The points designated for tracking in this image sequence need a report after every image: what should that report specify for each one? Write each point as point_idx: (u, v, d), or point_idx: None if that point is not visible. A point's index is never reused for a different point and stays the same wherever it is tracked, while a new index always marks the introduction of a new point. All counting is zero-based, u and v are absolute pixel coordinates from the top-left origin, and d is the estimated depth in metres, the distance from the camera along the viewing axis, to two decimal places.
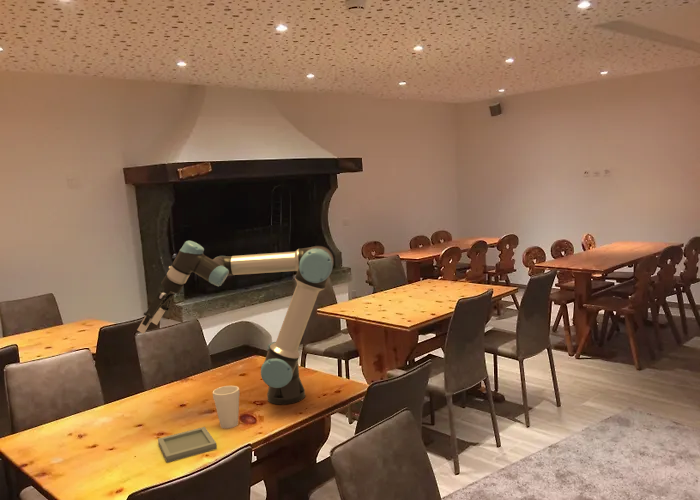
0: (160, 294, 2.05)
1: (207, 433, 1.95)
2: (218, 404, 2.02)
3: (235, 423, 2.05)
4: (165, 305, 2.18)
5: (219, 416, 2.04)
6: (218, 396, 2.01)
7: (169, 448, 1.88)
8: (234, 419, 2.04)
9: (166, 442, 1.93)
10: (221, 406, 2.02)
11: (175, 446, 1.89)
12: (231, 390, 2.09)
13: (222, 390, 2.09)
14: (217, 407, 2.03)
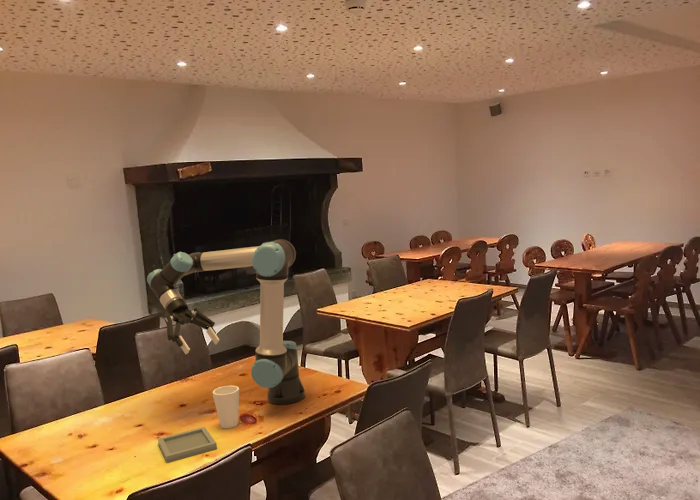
0: (165, 319, 2.10)
1: (207, 433, 1.95)
2: (218, 404, 2.02)
3: (235, 423, 2.05)
4: (203, 324, 2.17)
5: (219, 416, 2.04)
6: (218, 396, 2.01)
7: (169, 448, 1.88)
8: (234, 419, 2.04)
9: (166, 442, 1.93)
10: (221, 406, 2.02)
11: (175, 446, 1.89)
12: (231, 390, 2.09)
13: (222, 390, 2.09)
14: (217, 407, 2.03)
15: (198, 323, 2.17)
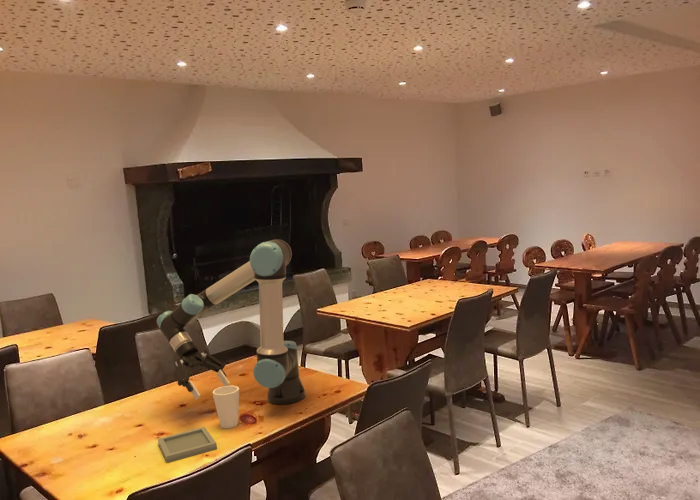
0: (175, 363, 2.09)
1: (207, 433, 1.95)
2: (218, 404, 2.02)
3: (235, 423, 2.05)
4: (213, 367, 2.16)
5: (219, 416, 2.04)
6: (218, 396, 2.01)
7: (169, 448, 1.88)
8: (234, 419, 2.04)
9: (166, 442, 1.93)
10: (221, 406, 2.02)
11: (175, 446, 1.89)
12: (231, 390, 2.09)
13: (222, 390, 2.09)
14: (217, 407, 2.03)
15: (208, 366, 2.16)
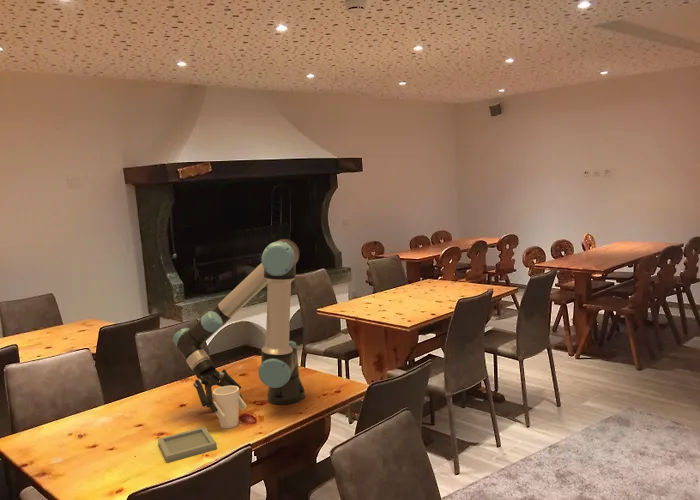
0: (194, 384, 2.05)
1: (207, 433, 1.95)
2: (218, 404, 2.02)
3: (235, 423, 2.05)
4: None
5: None
6: (218, 396, 2.01)
7: (169, 448, 1.88)
8: (234, 419, 2.04)
9: (166, 442, 1.93)
10: (221, 406, 2.02)
11: (175, 446, 1.89)
12: (231, 390, 2.09)
13: (222, 390, 2.09)
14: None
15: None
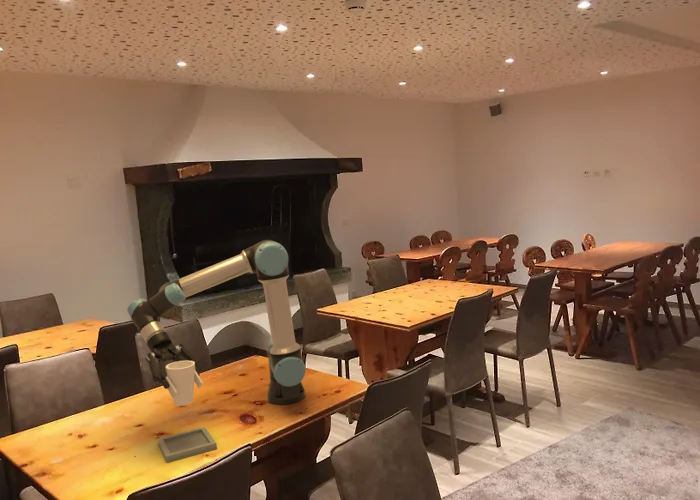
0: (146, 358, 1.90)
1: (207, 433, 1.95)
2: (170, 379, 1.87)
3: (189, 401, 1.89)
4: None
5: None
6: (171, 370, 1.86)
7: (169, 448, 1.88)
8: (189, 396, 1.89)
9: (166, 442, 1.93)
10: (174, 382, 1.86)
11: (175, 446, 1.89)
12: (187, 365, 1.94)
13: (178, 365, 1.93)
14: None
15: None
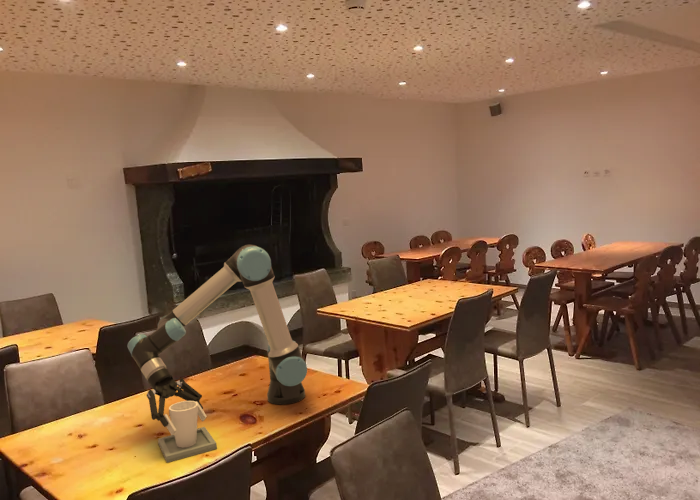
0: (147, 395, 1.89)
1: (207, 433, 1.95)
2: (174, 421, 1.86)
3: (192, 442, 1.89)
4: (189, 397, 1.95)
5: (175, 434, 1.88)
6: (174, 412, 1.85)
7: (169, 448, 1.88)
8: (192, 438, 1.89)
9: (166, 442, 1.93)
10: (177, 423, 1.86)
11: (175, 446, 1.89)
12: (190, 406, 1.94)
13: (180, 405, 1.93)
14: (173, 424, 1.87)
15: (183, 396, 1.95)
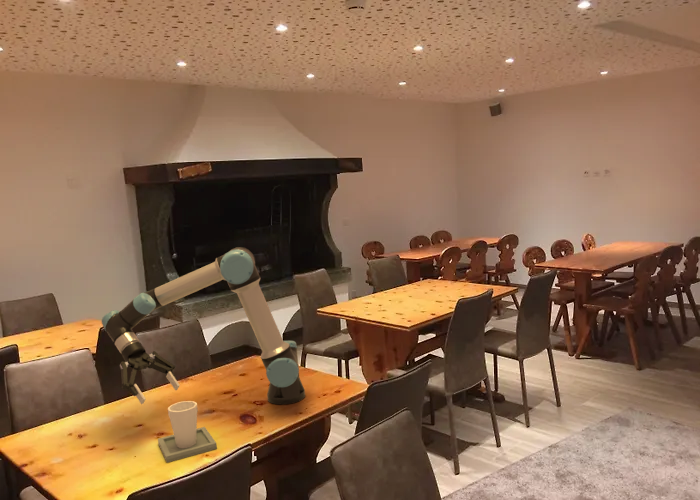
0: (120, 366, 1.96)
1: (207, 433, 1.95)
2: (173, 421, 1.86)
3: (192, 442, 1.89)
4: (162, 368, 2.03)
5: (175, 435, 1.88)
6: (173, 413, 1.85)
7: (169, 448, 1.88)
8: (192, 438, 1.89)
9: (166, 442, 1.93)
10: (177, 424, 1.86)
11: (175, 446, 1.89)
12: (189, 406, 1.93)
13: (179, 406, 1.93)
14: (172, 425, 1.87)
15: (157, 368, 2.03)
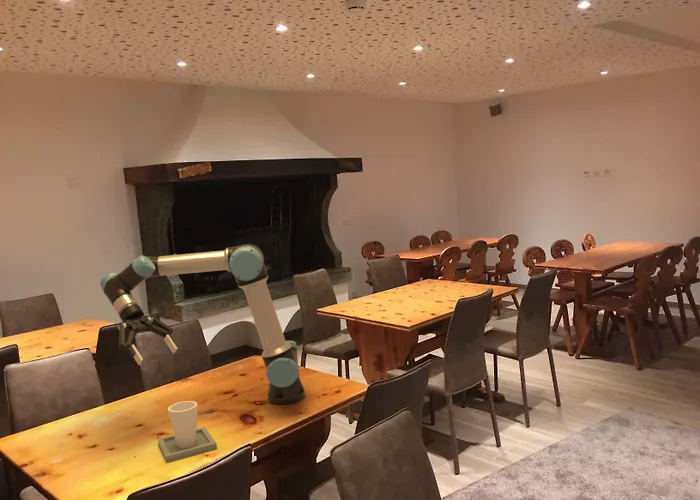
0: (117, 327, 1.95)
1: (207, 433, 1.95)
2: (173, 421, 1.86)
3: (192, 442, 1.89)
4: (160, 331, 2.02)
5: (175, 435, 1.88)
6: (173, 413, 1.85)
7: (169, 448, 1.88)
8: (192, 438, 1.89)
9: (166, 442, 1.93)
10: (177, 424, 1.86)
11: (175, 446, 1.89)
12: (189, 406, 1.93)
13: (180, 406, 1.93)
14: (173, 425, 1.87)
15: (155, 330, 2.02)
